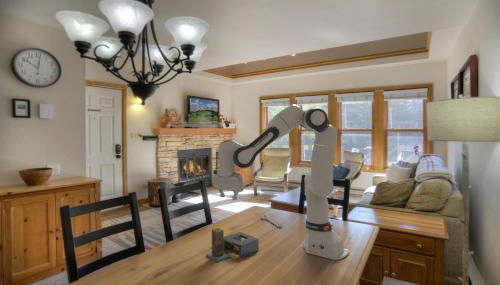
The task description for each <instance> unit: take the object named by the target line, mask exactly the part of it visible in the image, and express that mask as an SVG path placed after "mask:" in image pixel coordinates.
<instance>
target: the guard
mask: <svg viewBox="0 0 500 285" xmlns="http://www.w3.org/2000/svg"><path fill="white" fill-rule="evenodd" d="M242 239H243V240H242ZM259 240H260V239H259V238H257V237H255V236H253V235H249V234H248V233H247V234H246V233H245V232H241V231H238V232H235V233H232V234H230V235H226V236H224V250H228V249H231V248H234V245H236V246H238V247H239V251H238V252H239V253H238V255H239V258H241V259H242V258H245V257H247V256H249V255H251V254H254V253H255V252H259V249H260V247H259V244H260V243H259Z"/></svg>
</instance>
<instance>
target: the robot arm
mask: <svg viewBox="0 0 500 285" xmlns="http://www.w3.org/2000/svg"><path fill="white" fill-rule="evenodd" d="M327 114H328V113H326V110H324V109H323V108H321V107H316V106H315V107H311V108H307V109H306V110H303V109H302V107H300V105H298V104H294V103H293V104H290V105H288V106H286V107H285V108H283V109H282V110H281V111H279V112H278V113H276V114H275V115H274V116H273V117H272V118H271V119H270V121H268V123H267V124H266V127H265V128H264V130H263V132H261V134H259V136H258V137H256V138H255V139H254V140H253V141H252V142H250V143H249V144H248V145H244V144H241V143H239V142H237V141H236V140H235V139H227V140H224V141H221V142H220V143H219V146H218V160H219V163H218V167H217V168H216V169H213V170H212V174H213V177H212V185H213V187H214V188H216V189H218V193H219V194H220V195H219V196H220V198H225V193H224V190H225V191H231V192H233V195H232V196H231V197H232V200H233V201H236V200H237V199H238V195H239V193H242V192H243V191H245V186H244V178H243V176H242V174H241V172H237V167H238V168H240V169H247V168H250V167H251V166H252V165H253V164H254V163H255V161H256V158H257V156H258V155H259V154H260V153H261V152H263V151H264V150H265V149H266V148H267V147H268V146H269V145H271V144H272V143H274V142H276V141H277V140H280V139H281V138H283V137H285V136H287V135H288V134H289V133H290V132H291V131H293V129H296V128H297V127H298V126H301V127H302V128H303V129H306V130H309V131H313V132H314V142H313V146H312V152H311V158H310V161H311V167H310V168H311V170H310V171H308V172H307V173H306V174H305V176H304V178H303V179H304V191H305V193H304V194H305V200H306V201H305V203H306V219H305V229H306V231H305V237H304V238H305V239H304V242H303V245H302V246H303V249H304V250H305V253H307V254H309V255H314V256H317V257H321V258H325V259H329V260H333V261H338V260H341V259H342V260H343V259H344V258H346V257H348V256H349V254H350V250H349V249H348V248H345V244H344V240H343V239H342V238H341V237H340V236H339V235H338V234H337V233H336V232H335V231H334V230H333V227H334V223H330V211H329V210H330V206H329V201H328V197H329V196H330V195H331V194H332V193H333V190H334V182H333V181H334V180H333V179H334V162H335V161H334V160H335V155H336V151H337V150H336V149H337V144H338V130H337V128H336V127H335V125H332V124H330V120H329V117H328V115H327Z"/></svg>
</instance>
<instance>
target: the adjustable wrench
mask: <svg viewBox="0 0 500 285" xmlns="http://www.w3.org/2000/svg"><path fill="white" fill-rule="evenodd" d="M260 218H261V220H263V221H266V222H269V223H270V222H271V223H270V224H272V225H273V224H274V226H275V227H276V226H277V228H278V229H283V228H284V227H283V225H282V224H280V223H279V222H276V221H275V220H274V219H272V218H271V217H270V215H268V214H264V216H263V215H261V216H260Z"/></svg>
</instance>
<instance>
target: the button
mask: <svg viewBox="0 0 500 285" xmlns="http://www.w3.org/2000/svg"><path fill="white" fill-rule="evenodd" d="M233 250H235V251H237V252H239V247H238V246H236V245H234V246H233Z"/></svg>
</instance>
